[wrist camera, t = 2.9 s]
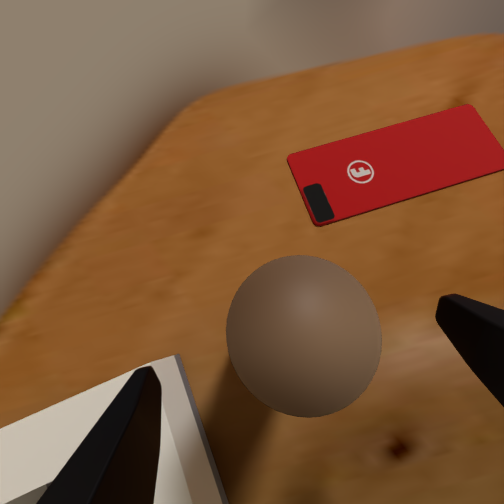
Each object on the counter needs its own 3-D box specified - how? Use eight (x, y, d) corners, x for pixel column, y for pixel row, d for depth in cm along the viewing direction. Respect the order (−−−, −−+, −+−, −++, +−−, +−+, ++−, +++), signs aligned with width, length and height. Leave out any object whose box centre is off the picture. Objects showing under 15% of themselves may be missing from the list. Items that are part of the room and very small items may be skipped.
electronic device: (466, 107, 21) (284, 159, 20) (471, 101, 20) (285, 154, 19) (508, 169, 19) (313, 229, 18) (516, 164, 19) (315, 226, 18)
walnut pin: (314, 347, 16) (412, 374, 6) (257, 374, 15) (264, 448, 6) (287, 290, 17) (334, 234, 7) (233, 314, 16) (203, 289, 7)
